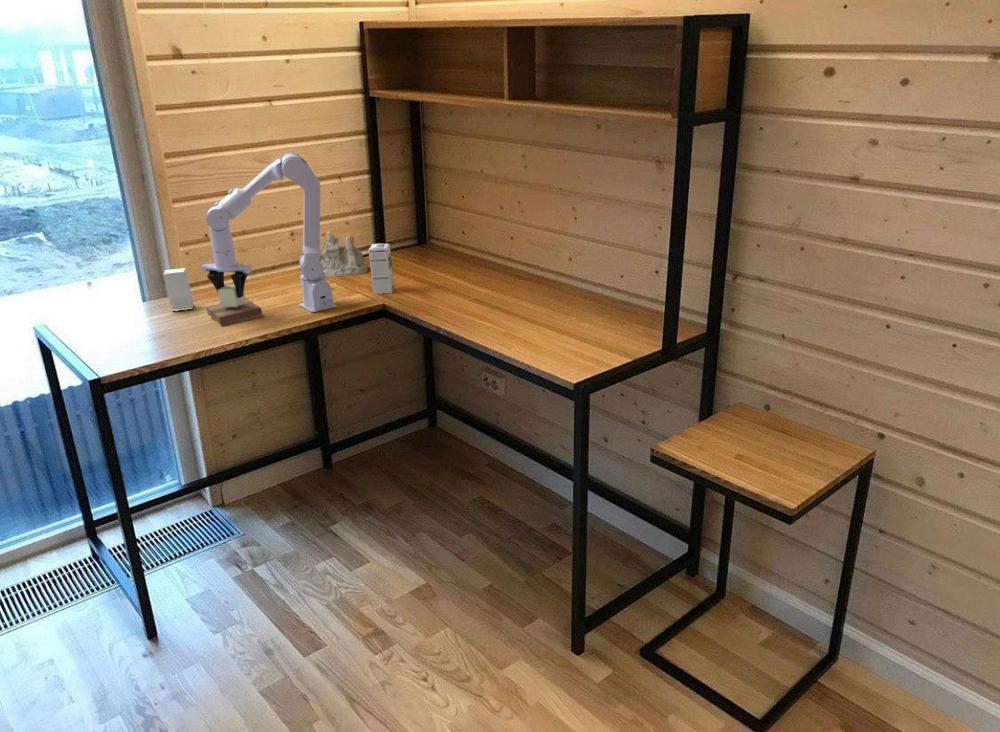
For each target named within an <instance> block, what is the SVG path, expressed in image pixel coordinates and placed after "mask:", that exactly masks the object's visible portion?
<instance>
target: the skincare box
mask: <svg viewBox="0 0 1000 732" xmlns="http://www.w3.org/2000/svg"><path fill="white" fill-rule="evenodd" d="M162 275H163V279H164V283H165V286H166V291H167V296H168V299H169V304H170V307H171V310H172V309H183V308H184V309H186V308H192V307H193V305H194V306H195V304H194V300H193V294H192V290H191V286H190V281H189V277H188V271H187V268H185V267H184V268H182V267H181V268H176V269H175V268H174V269H173V268H171V269H165V270H164V272H163V273H162Z"/></svg>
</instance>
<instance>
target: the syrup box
mask: <svg viewBox="0 0 1000 732" xmlns="http://www.w3.org/2000/svg"><path fill="white" fill-rule="evenodd" d="M368 256H369V265H370V267H369V268H370V273H371V275H370V276H371V282H372V290H373V295H374V294H375V295H383V294H382V293H387V294H388V293H389V295H390V293H391V294H392V293H393V292H394V289H395V281H394V271H393V262H392V253H391V246H390V243H384V242H383V243H382V242H381V243H374V244H373V243H372V244H371V246H370V247H369V248H368ZM387 294H386V295H387Z"/></svg>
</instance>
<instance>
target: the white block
mask: <svg viewBox="0 0 1000 732" xmlns="http://www.w3.org/2000/svg"><path fill="white" fill-rule="evenodd" d="M218 293H219V294H218ZM217 294H218V299H219V304H220V305H221V306H222V307H238V306H239V305H241V304H243V303H244V302H246V301H245V299H246V297H245V296H246V295H245V293H244V294H243V296H242V297H241V298H238V297H237V294H236V288H235V285H234V284H226V285H224V287H222V288H220V289H218V292H217Z"/></svg>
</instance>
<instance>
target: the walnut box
mask: <svg viewBox="0 0 1000 732" xmlns="http://www.w3.org/2000/svg"><path fill="white" fill-rule="evenodd" d="M245 301H246V302H244V303H243V304H241V305H239V306H238V307H222V306H221V305H220V303H219V304H215V305H211V306H207V307H206V311H207V316H208V315H210V316H211V317H212V318H213V319H214V320H215V321H217V322H218V323H219V324H220V325H224V326H227V325H231V324H235V323H236V324H237V323H240V322H241V323H242V322H244V321H250V320H253V319H256V318H257V319H258V318H261V317H263V312H262V308H261V307H260V306H259V305H257V304H256V303H254V302H252V301H251V300H250V299H248V298H245ZM212 318H211V319H212ZM213 319H212V320H213ZM214 320H213V321H214ZM215 321H214V322H215ZM217 322H216V323H217ZM218 323H217V324H218ZM219 324H218V325H219ZM220 325H219V326H220Z"/></svg>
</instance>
